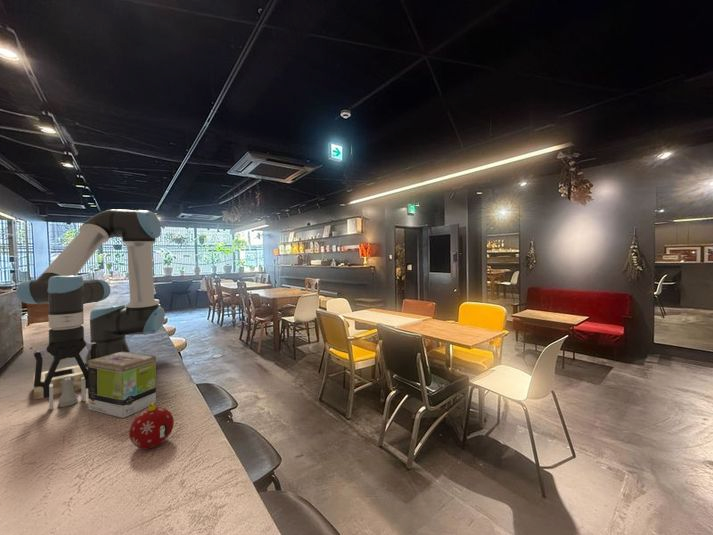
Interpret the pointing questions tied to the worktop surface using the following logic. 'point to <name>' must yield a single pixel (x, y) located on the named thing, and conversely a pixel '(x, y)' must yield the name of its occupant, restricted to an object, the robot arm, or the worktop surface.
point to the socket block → (57, 378)
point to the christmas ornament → (151, 427)
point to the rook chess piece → (67, 392)
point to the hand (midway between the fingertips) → (67, 403)
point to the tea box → (121, 383)
